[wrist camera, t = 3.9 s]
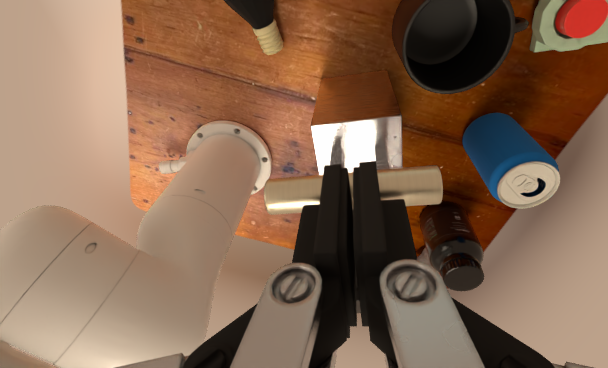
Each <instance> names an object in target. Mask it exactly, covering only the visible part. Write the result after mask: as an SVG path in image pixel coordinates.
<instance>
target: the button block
mask: <svg viewBox="0 0 608 368" xmlns="http://www.w3.org/2000/svg"><path fill="white" fill-rule="evenodd" d="M567 1H568V0H539V2H538V6H537V7H536V9H535V12H534V18H533V23H532V30H533V34H532V39H531V45H530V50H531V51H533V52H540V51H547V50H557V51H560V52H561V51H569V50H576V49H580V48H582V47H583V46H585V45H592V44H599V43H606V42H608V15H607V18H606V20H605V22H604V23H603V25H602V26H601V27H600V28H599V29H598V30H597V31H595V32H594V33H592V34H591V35H589V36H586V37H583V38H572V37H569V36H567V35H564V34H562V33H560V32H559V31H558V30H557V28H556V25H555V20H556V16H557V13H558V11H559V10H560V8H561V7H562V6H563V5H564V4H565V3H566V2H567ZM606 2H607V4H608V0H606Z"/></svg>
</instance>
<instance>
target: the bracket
mask: <svg viewBox="0 0 608 368" xmlns="http://www.w3.org/2000/svg"><path fill="white" fill-rule="evenodd" d="M311 132H312V137H313V143H314V149H315V155H316V161H317V166H318V172H319V175H323V171H324V165H334V164H341V166H342V168H348V173H349V172H353V167H359V162H369V161H376V165H377V170H384V169H396V168H402V115H401V112H400V109H399V106H398V103H397V100H396V97H395V94H394V91H393V88H392V85H391V82H390V78H389V75H388V72H387V70H381V71H374V72H367V73H360V74H352V75H345V76H338V77H331V78H323V79H321V82H320V86H319V91H318V95H317V100H316V104H315V109H314V113H313V118H312V122H311Z"/></svg>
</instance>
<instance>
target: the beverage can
mask: <svg viewBox="0 0 608 368" xmlns="http://www.w3.org/2000/svg"><path fill="white" fill-rule="evenodd" d="M463 147H464V149H465V151H466V152H467V154H468V156H469V157H470V159H471V161H472V162H473V164H474V166H475V167H476V169H477V171H478V172H479V174H480V176H481V177H482V179H483V181H484V182H485V184H486V186H487V187H488V189H489V191H490V192H491V194H492V195H493V197H495V198H496V199H497V200H499V201H500V202H503V203H504V204H506V205H507V206H510V207H513V208H529V207H533V206H536V205H539V204H541V203H543V202H545V201H546V200H548V199H549V198H550V197H551V196H553V195H554V193H555V192H556V191H557V189H558V187H559V185H560V175H559V169H558V165H557V163H556V161H555V160H554V159H553V158H552V157H551V156H550V155H549V154H548V153H547V152H546V151H545V150H544V149H543V148H542V147H541V146H540V145H539V144H538V143H537V142H536V141H535V140H534V139H533V138H532V137H531V136H530V135H529V134H528V133H527V132H526V131H525V130H524V129H523V128H522V127H521V126H520V125H519V124H518V123H517V122H516V121H515V120H514V119H513V118H512V117H510V116H509V115H507V114H503V113H490V114H486V115H483V116H481V117H479V118H477V119H476V120H474V121H473V122H472V123H471V124H470V125H469V126H468V127H467V129H466V131H465V133H464V135H463Z"/></svg>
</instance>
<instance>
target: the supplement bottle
mask: <svg viewBox="0 0 608 368" xmlns="http://www.w3.org/2000/svg"><path fill="white" fill-rule="evenodd" d="M420 226H421V231H422V234H423V238H424V242H425V246H426V250H427V254H428V257H429V261H430V263H431V265H432V267H433V268H434V269H435V270H436V271H438V272H439V273H440V274H441V276H442V278H443V281H444V284H445V285H446V286H447V287H448V288H450V289H452V290H456V291H468V290H472V289H474V288H476V287H478V286H479V285H480V284H481V283H482V282H483V280H484V273H483V271H482V268H481V263H482V260H483V250H482V247H481V245H480V243H479V240H478V238H477V236H476V234H475V231H474V229H473V227H472V225H471V223H470V220H469V218H468V216H467V214H466V212H465V210H464V209H463V208H462V207H461V206H460V205H458V204H456V203H453V202H447V201H443V202H441V203H440V204H432V205H430V206H428V207H427V208H426V209H425V210H424V211H423V212H422V214H421V216H420Z"/></svg>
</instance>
